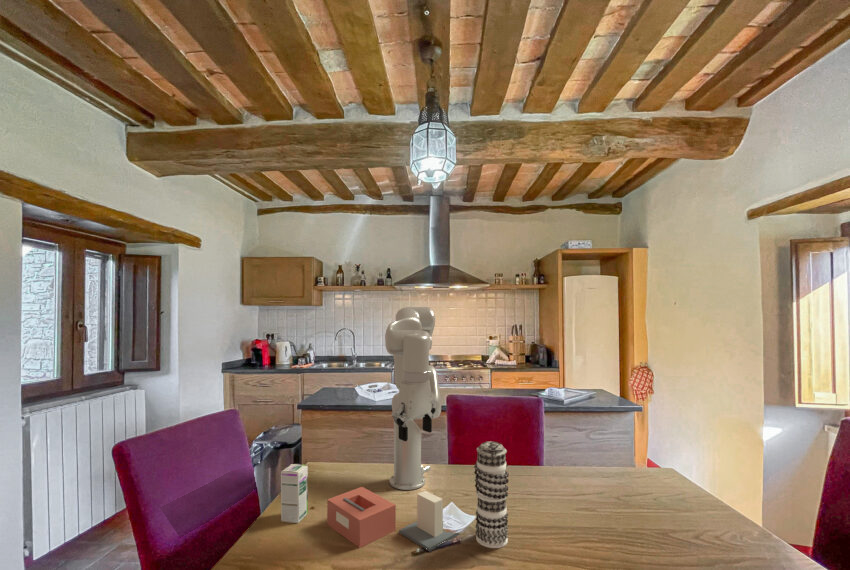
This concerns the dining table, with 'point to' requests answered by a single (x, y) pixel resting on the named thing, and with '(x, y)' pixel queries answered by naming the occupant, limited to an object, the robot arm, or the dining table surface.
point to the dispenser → (361, 516)
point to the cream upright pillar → (430, 513)
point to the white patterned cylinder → (491, 495)
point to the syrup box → (294, 493)
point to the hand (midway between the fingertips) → (415, 435)
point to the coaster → (425, 536)
